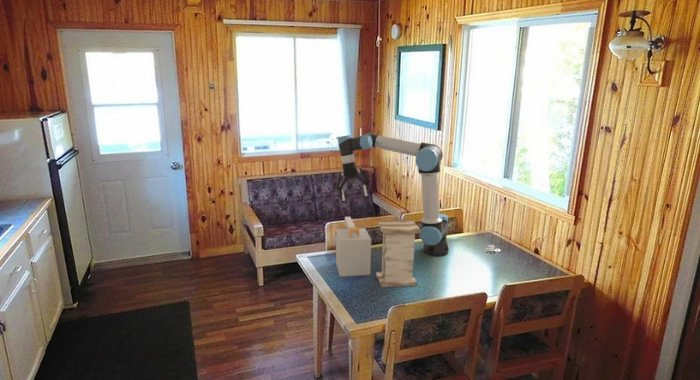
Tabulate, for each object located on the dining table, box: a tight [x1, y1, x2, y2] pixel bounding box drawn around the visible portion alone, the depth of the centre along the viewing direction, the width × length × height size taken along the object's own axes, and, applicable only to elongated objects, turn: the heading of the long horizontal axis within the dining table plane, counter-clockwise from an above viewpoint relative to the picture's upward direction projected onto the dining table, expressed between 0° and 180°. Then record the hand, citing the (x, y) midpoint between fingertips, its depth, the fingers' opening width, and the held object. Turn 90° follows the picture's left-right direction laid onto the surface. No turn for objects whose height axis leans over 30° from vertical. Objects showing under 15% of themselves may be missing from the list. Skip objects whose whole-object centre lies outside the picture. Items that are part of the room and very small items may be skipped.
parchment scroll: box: [375, 219, 421, 288], centre depth 227 cm, size 14×18×30 cm
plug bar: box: [344, 216, 360, 238], centre depth 244 cm, size 24×4×4 cm, turn 9°
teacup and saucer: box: [486, 244, 501, 253], centre depth 268 cm, size 9×8×4 cm
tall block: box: [335, 227, 372, 277], centre depth 240 cm, size 16×16×20 cm
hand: (355, 198), depth 262 cm, fingers open, 13 cm apart
